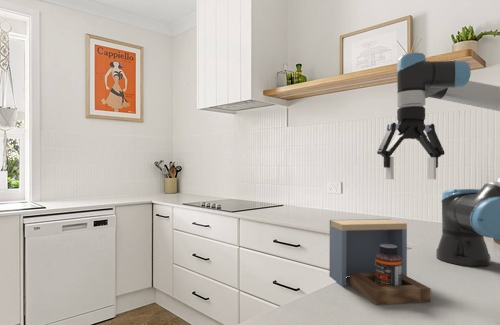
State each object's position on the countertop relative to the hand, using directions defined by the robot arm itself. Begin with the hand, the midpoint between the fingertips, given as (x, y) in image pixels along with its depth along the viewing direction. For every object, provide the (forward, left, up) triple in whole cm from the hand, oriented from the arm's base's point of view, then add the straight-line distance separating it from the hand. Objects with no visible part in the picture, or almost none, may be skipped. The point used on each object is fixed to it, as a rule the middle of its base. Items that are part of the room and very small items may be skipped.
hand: (411, 179), depth 102 cm
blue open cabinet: (+17, +6, -27) cm, 32 cm away
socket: (+17, +16, -27) cm, 35 cm away
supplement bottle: (+17, +16, -27) cm, 36 cm away
